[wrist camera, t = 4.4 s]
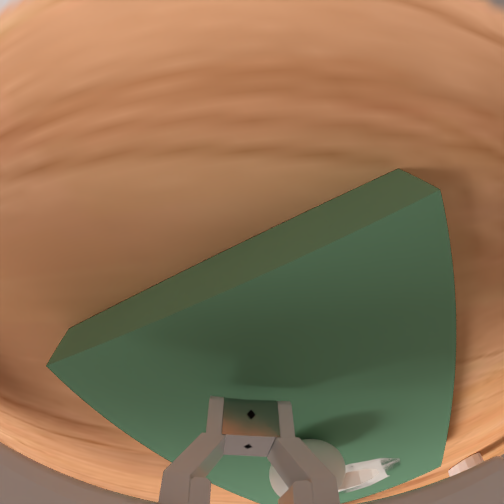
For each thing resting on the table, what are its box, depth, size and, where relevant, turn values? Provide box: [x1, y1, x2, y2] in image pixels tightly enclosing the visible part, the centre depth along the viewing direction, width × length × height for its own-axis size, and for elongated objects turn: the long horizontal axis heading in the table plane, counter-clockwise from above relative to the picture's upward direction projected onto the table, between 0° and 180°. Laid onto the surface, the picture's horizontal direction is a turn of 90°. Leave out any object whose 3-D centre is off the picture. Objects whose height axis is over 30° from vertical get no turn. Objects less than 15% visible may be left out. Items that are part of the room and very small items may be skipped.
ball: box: [269, 439, 346, 497], centre depth 12 cm, size 4×4×4 cm
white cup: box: [448, 453, 484, 477], centre depth 26 cm, size 8×8×10 cm
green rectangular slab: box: [46, 169, 456, 504], centre depth 17 cm, size 18×32×3 cm, turn 28°
